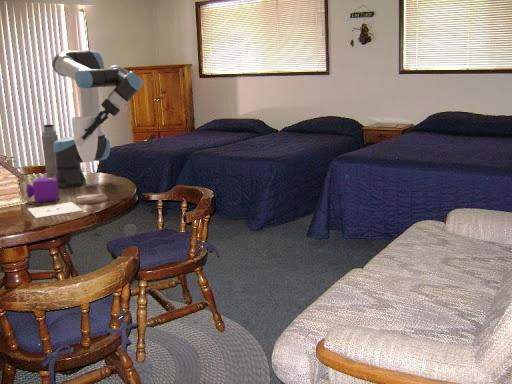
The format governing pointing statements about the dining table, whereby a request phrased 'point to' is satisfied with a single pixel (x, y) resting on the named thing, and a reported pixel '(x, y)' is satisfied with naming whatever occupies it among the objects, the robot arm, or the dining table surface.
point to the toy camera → (43, 189)
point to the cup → (90, 145)
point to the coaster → (91, 198)
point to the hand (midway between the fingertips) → (79, 143)
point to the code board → (54, 210)
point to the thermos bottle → (49, 150)
